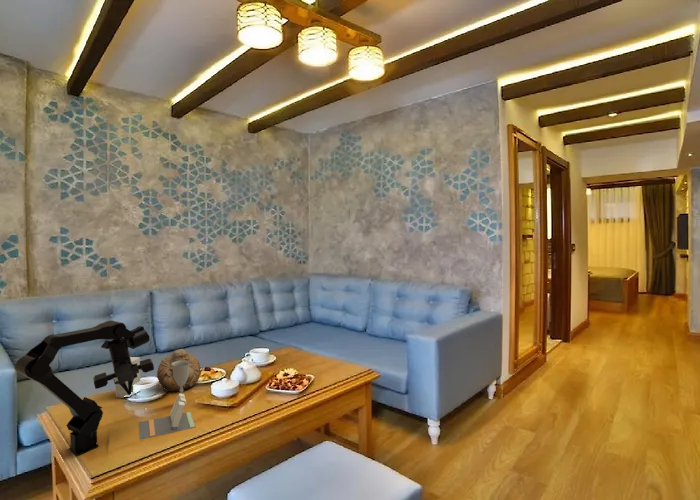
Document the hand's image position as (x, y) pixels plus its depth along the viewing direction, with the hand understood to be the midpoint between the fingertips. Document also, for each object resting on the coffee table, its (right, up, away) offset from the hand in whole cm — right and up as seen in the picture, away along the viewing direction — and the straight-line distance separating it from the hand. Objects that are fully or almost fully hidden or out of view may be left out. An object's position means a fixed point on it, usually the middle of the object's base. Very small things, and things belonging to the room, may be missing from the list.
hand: (129, 394), depth 145 cm
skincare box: (-17, -11, +30) cm, 36 cm away
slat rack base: (+13, -13, +1) cm, 18 cm away
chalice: (+11, -12, +19) cm, 25 cm away
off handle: (+17, -12, -1) cm, 20 cm away
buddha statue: (+2, -11, +39) cm, 41 cm away
